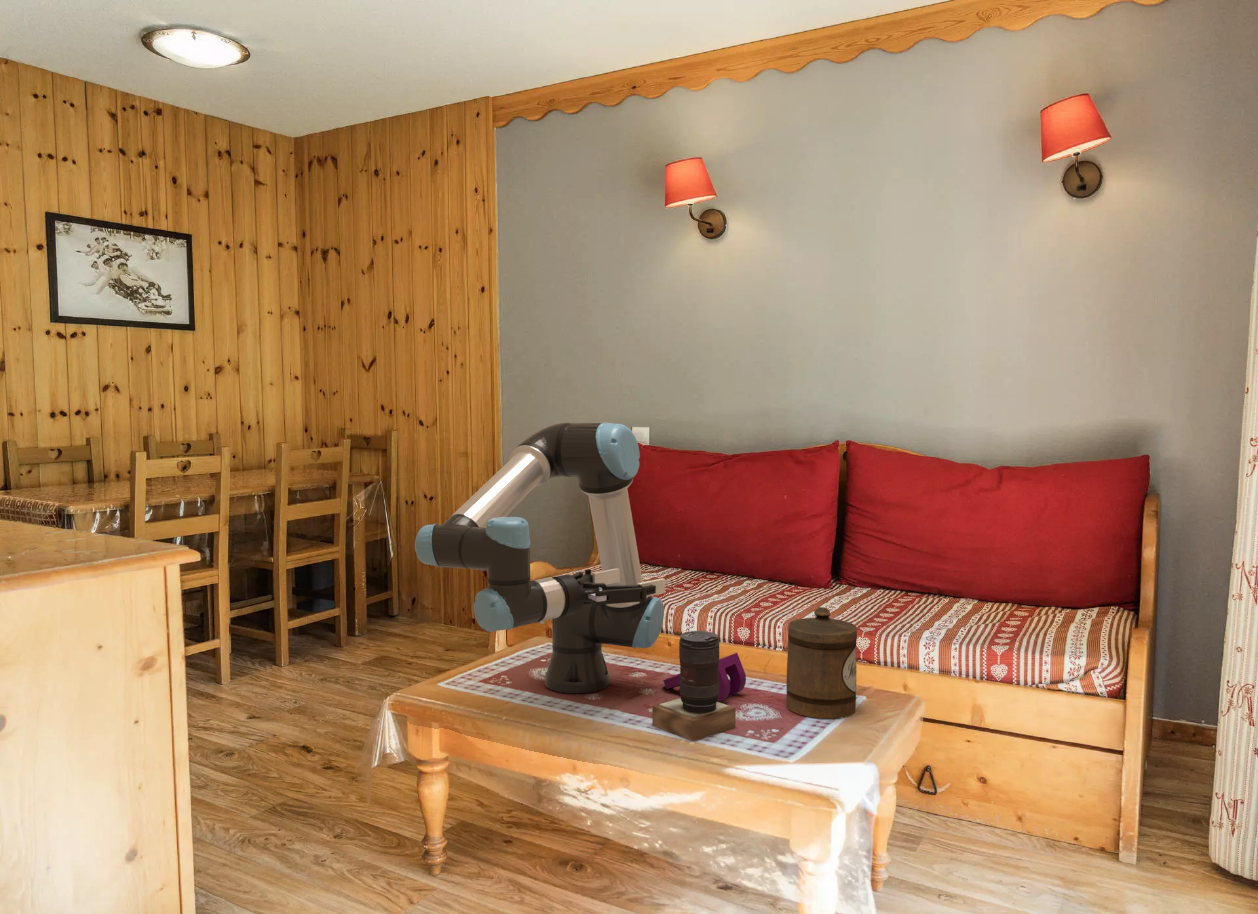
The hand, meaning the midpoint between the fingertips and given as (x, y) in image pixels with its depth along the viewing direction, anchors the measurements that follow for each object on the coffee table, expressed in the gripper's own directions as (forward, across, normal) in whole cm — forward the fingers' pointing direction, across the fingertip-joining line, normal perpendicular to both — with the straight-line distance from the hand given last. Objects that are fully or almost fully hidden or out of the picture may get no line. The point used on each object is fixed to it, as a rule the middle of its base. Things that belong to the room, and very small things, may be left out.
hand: (640, 580), depth 175 cm
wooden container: (+38, +16, -32) cm, 52 cm away
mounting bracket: (+26, -9, -32) cm, 42 cm away
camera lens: (+9, +7, -27) cm, 29 cm away
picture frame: (+9, +5, -31) cm, 33 cm away
